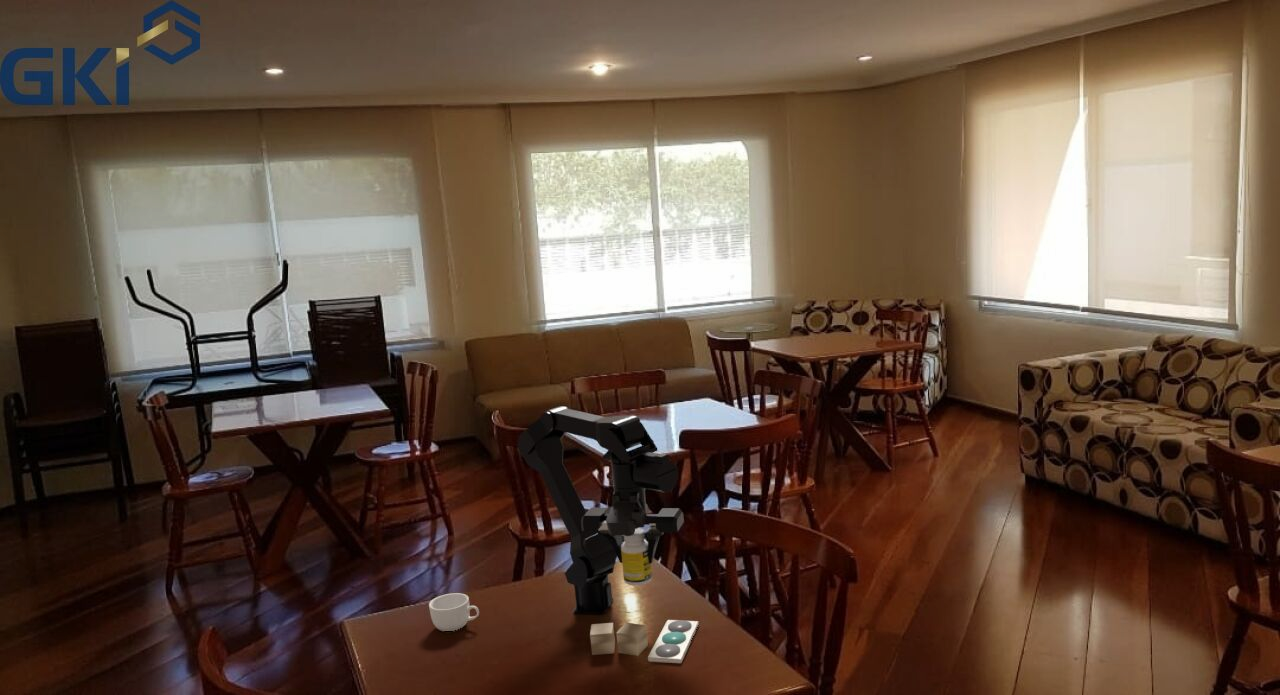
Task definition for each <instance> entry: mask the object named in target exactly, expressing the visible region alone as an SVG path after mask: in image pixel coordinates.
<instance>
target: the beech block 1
mask: <svg viewBox="0 0 1280 695" xmlns="http://www.w3.org/2000/svg"><path fill="white" fill-rule="evenodd" d="M589 633H590V634H589V638H590V649H591V655H592V656H594V655H609V654H614V653H615V649H616V648H615V646H616V639H615V637H616V636H615V628H614V622H607V623H606V622H603V623H594V624H593V623H592V624H591V626H590V632H589Z"/></svg>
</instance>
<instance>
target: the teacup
mask: <svg viewBox="0 0 1280 695" xmlns="http://www.w3.org/2000/svg"><path fill="white" fill-rule="evenodd" d="M469 598H470V597H469V596H468V595H467V594H464V593H460V592H459V593H458V592H456V593H455V592H453V593H452V592H451V593H446V594H443V595H439V596H436V597H435V598H433V599H431V600H430V601H429V603H428V607H429V613H430V618H431V621H432V623H433V626H435V628H436V629H437V630H439V631H440V632H441V631H442V632H444V631H453V632H456V631H459V630H461V629H462V628H463V627H464V626H465V625H467V623H468V622H469V621H473V620H475V619H476V618H477V617H478V616H479V615H480V610H479V608H478V607H477V606H476V605H470V599H469ZM472 609H474V610H475V612H476V615H474V616H470V615H471V614H470V613H471V612H470V611H471V610H472ZM460 628H461V629H460ZM458 629H459V630H458ZM455 630H456V631H455Z"/></svg>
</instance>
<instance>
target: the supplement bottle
mask: <svg viewBox="0 0 1280 695" xmlns="http://www.w3.org/2000/svg"><path fill="white" fill-rule="evenodd" d="M645 534H646V533H645V530H644V529H643V528H642V527H638V529H635V533H634V534H633V535H631V536H625V535H623V543H622V545H621V554H622V563H621V565H622V576H623V580H624V583H625V584H627V585H628V586H642V585H643V586H644V585H646V584H648V583H649V582H651V580H652V578H653V577H652V576H653V574H652V572H653V571H652V564H649V559H648V540H646V539H645V538H646V535H645Z"/></svg>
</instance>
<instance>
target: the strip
mask: <svg viewBox="0 0 1280 695" xmlns="http://www.w3.org/2000/svg"><path fill="white" fill-rule="evenodd" d="M666 620H667V621H666V622H665V624H664V626H663V627H662V630H661V632H660V633H659V636H658V637H657V639H656V641H655V643H654V645H653V647H652V648H651V650H650V652H649V653H648V656H647V661H648V662H653V663H654V662H655V663H669V664H671V663H672V664H682V663H683V660H684V658H685V656H686V654H687V652H688V650H689V647H690V645H691V643H692V641H693V639H694V637H695V634H696V632H697V630H698V628H699V626H698V625H699V621H697V620H695V621H694V620H682V619H681V620H679V619H666ZM697 627H698V628H697ZM696 629H697V630H696ZM693 636H694V637H693ZM692 638H693V639H692ZM691 640H692V641H691Z"/></svg>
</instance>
